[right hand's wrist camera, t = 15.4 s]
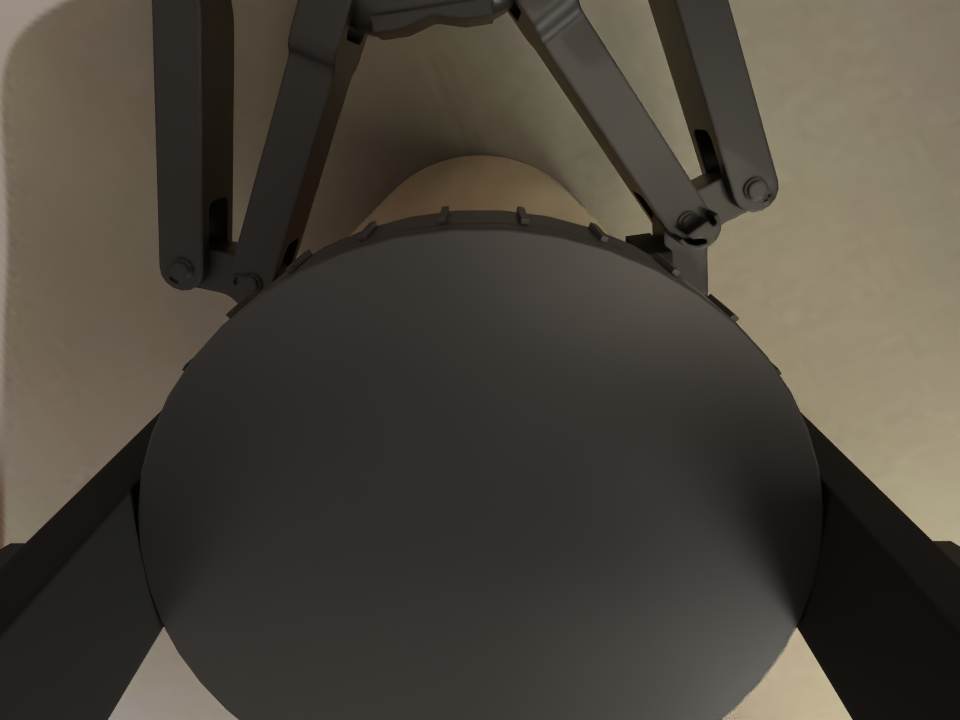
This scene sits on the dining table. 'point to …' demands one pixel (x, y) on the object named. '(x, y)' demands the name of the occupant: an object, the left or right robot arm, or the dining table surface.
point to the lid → (480, 486)
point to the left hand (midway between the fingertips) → (498, 457)
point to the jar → (480, 191)
